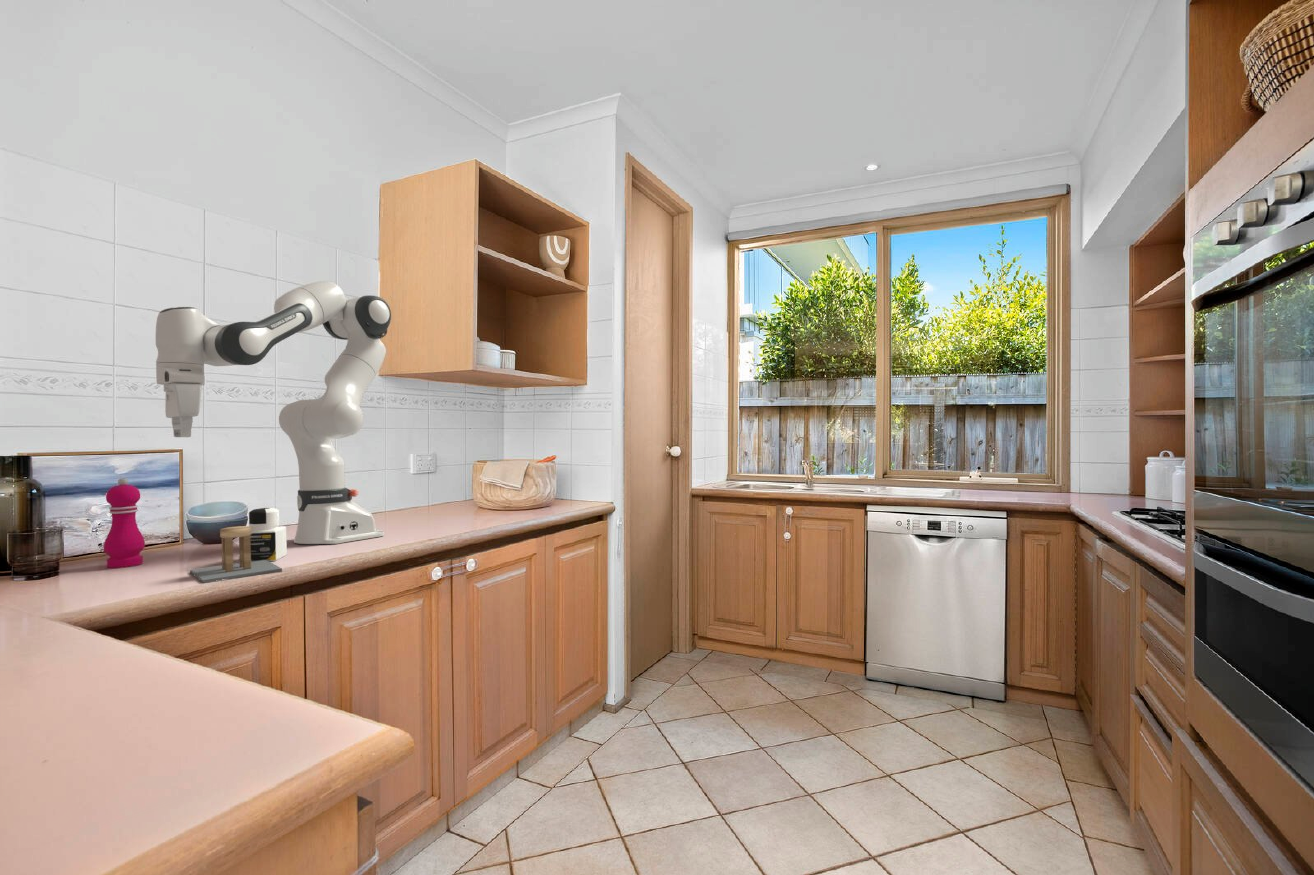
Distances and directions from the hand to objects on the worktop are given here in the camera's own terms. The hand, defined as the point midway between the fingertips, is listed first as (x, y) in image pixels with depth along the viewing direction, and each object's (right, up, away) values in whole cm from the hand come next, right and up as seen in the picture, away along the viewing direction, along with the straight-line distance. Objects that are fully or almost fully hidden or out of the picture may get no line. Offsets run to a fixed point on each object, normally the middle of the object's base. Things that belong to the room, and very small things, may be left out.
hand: (182, 437), depth 145 cm
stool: (+19, -28, -9) cm, 35 cm away
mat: (+19, -29, -9) cm, 36 cm away
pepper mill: (-12, -30, -1) cm, 32 cm away
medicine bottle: (+17, -29, +4) cm, 34 cm away
